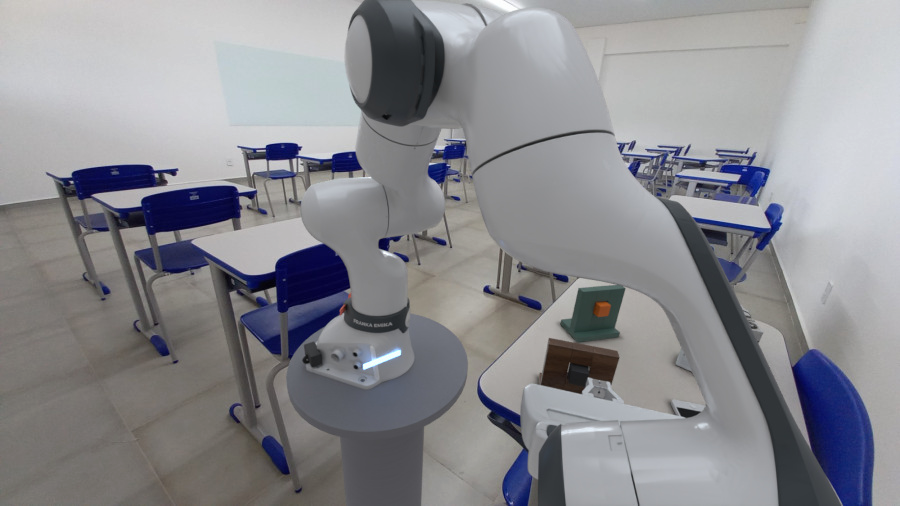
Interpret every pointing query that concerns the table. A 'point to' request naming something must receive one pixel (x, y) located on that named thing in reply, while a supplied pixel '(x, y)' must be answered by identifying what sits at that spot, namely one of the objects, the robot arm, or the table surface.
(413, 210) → the robot arm
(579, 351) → the near plate
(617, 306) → the far plate
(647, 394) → the table surface
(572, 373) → the near switch
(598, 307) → the far switch
